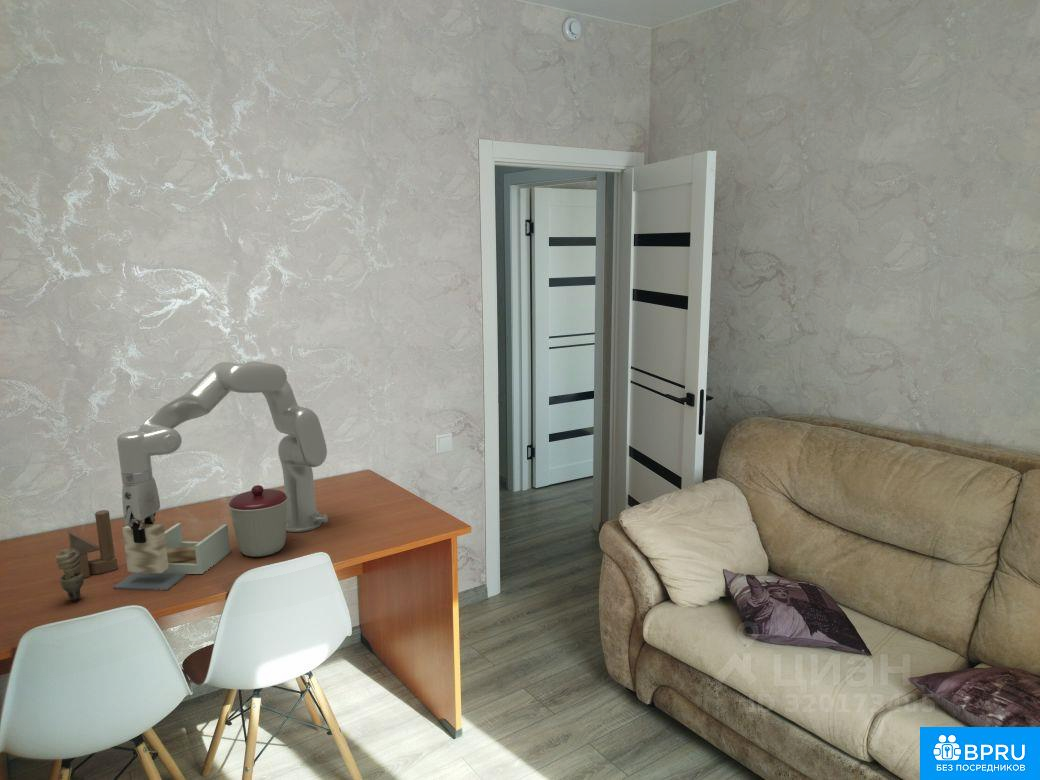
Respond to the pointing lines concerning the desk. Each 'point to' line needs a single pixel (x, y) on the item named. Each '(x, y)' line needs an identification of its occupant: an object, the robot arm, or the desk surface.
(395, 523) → the desk surface
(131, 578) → the slate pad
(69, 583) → the light bulb
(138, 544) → the birch block
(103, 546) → the brown wooden angled piece
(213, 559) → the tray
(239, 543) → the canister
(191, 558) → the oak offcut
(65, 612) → the desk surface
